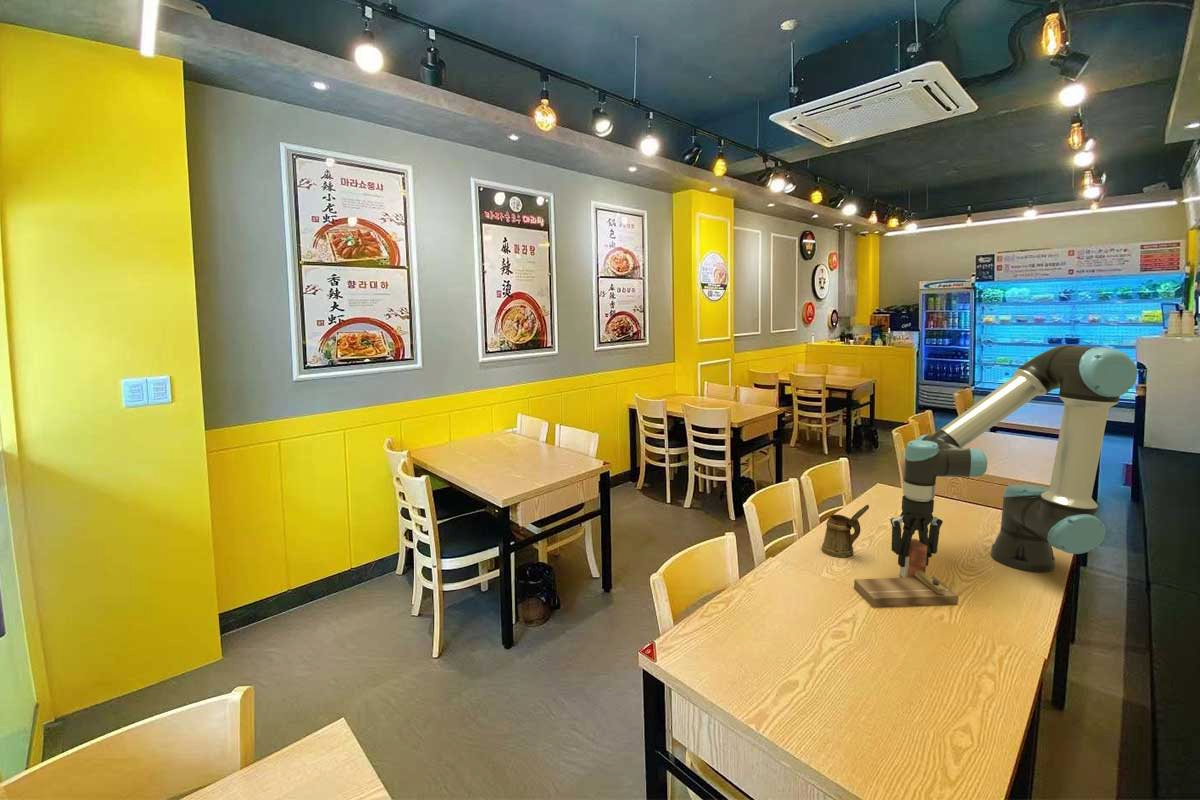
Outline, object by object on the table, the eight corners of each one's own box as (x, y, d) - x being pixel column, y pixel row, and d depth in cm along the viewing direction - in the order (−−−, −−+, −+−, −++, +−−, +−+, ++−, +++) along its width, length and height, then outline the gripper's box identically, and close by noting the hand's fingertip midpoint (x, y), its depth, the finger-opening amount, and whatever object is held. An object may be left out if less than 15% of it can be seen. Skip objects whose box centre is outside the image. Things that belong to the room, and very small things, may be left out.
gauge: (913, 575, 154) (916, 538, 152) (948, 603, 139) (951, 563, 137) (899, 575, 153) (902, 539, 152) (932, 603, 139) (936, 563, 137)
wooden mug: (858, 565, 160) (861, 508, 157) (816, 550, 171) (818, 496, 168) (872, 557, 166) (876, 501, 163) (831, 542, 176) (833, 490, 173)
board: (932, 585, 148) (933, 576, 148) (957, 604, 138) (958, 595, 138) (853, 587, 148) (854, 579, 147) (872, 607, 138) (873, 598, 138)
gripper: (940, 491, 151) (933, 569, 155) (879, 493, 151) (874, 571, 154) (958, 500, 144) (950, 582, 147) (894, 502, 143) (889, 584, 147)
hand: (912, 576), depth 151 cm, fingers closed on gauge, 4 cm apart
